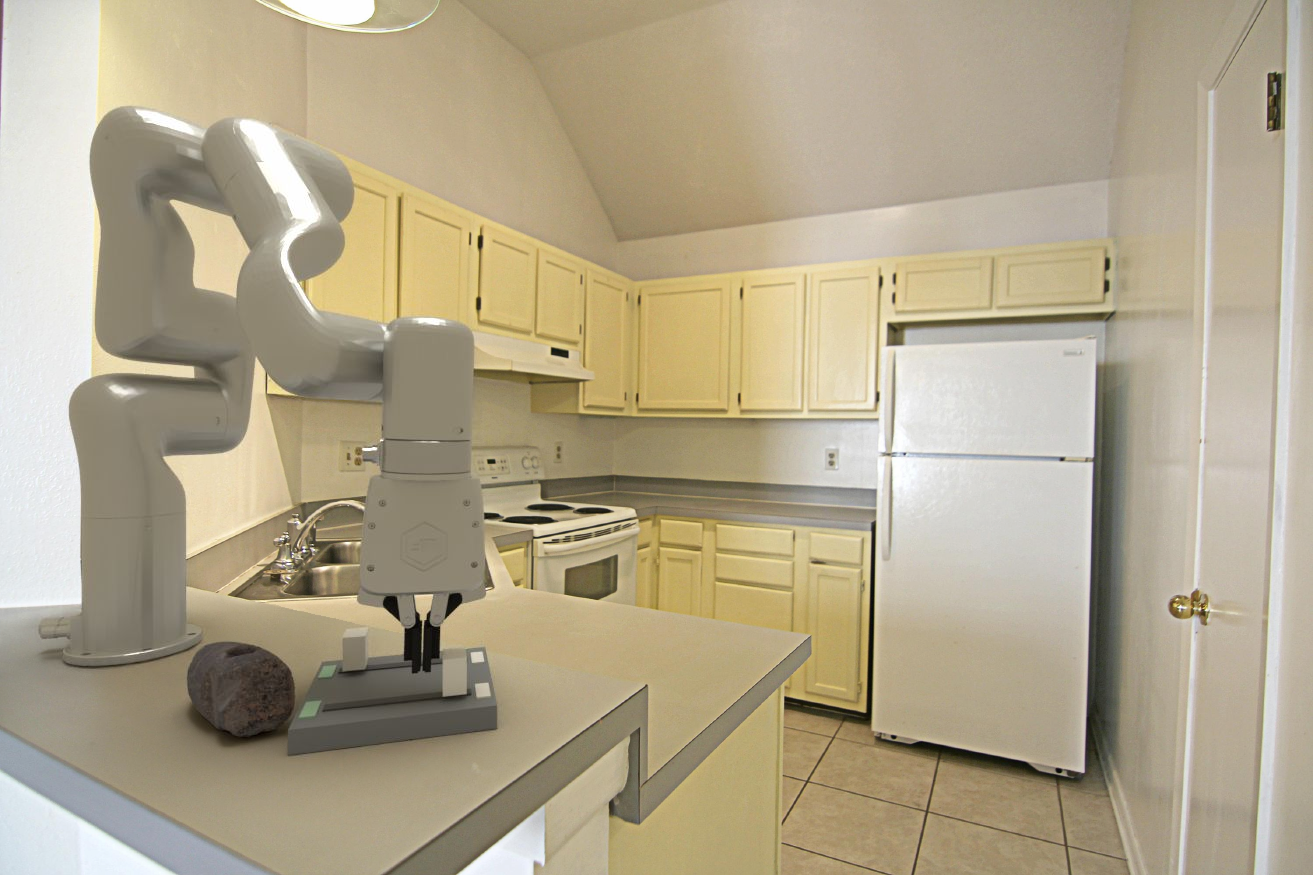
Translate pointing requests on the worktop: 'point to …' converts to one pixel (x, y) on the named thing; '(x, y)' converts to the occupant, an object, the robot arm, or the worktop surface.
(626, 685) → the worktop surface
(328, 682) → the slider switch panel
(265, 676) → the perforated stone tool
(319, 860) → the worktop surface
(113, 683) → the worktop surface
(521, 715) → the worktop surface
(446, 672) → the block
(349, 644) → the block
